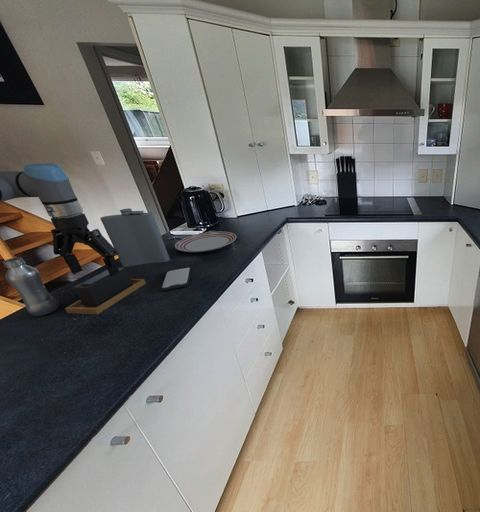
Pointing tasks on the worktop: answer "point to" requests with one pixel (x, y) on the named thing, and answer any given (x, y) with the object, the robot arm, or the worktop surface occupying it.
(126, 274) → the gadget
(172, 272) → the phone case
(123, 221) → the flask
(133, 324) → the worktop surface
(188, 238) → the dinner plate
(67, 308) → the tray
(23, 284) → the plastic bottle
